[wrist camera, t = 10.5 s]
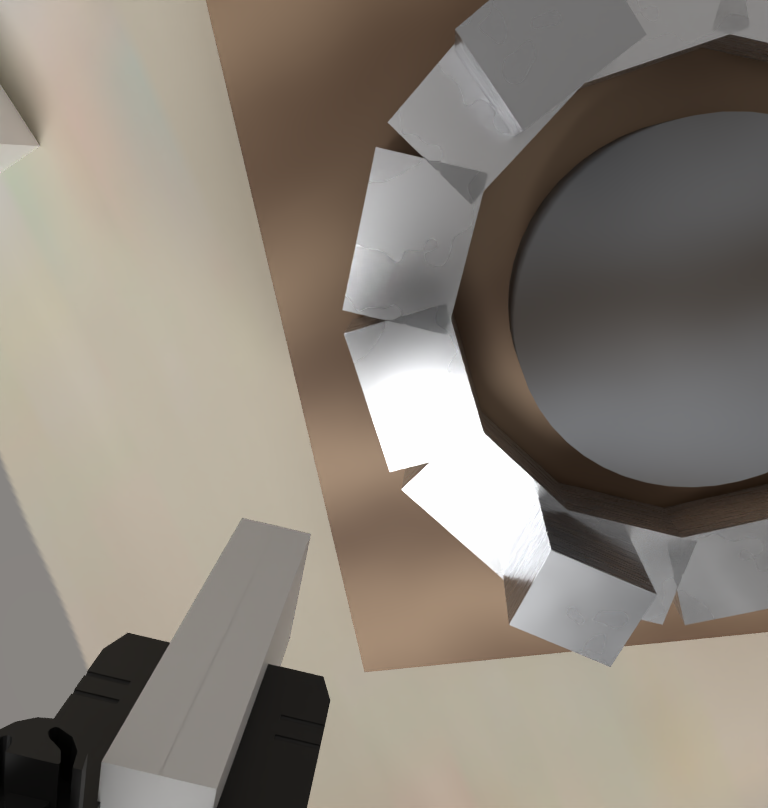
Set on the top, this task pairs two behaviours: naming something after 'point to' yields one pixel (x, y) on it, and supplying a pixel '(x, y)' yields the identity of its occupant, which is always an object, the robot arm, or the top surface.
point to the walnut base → (310, 255)
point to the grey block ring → (445, 359)
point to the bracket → (13, 134)
